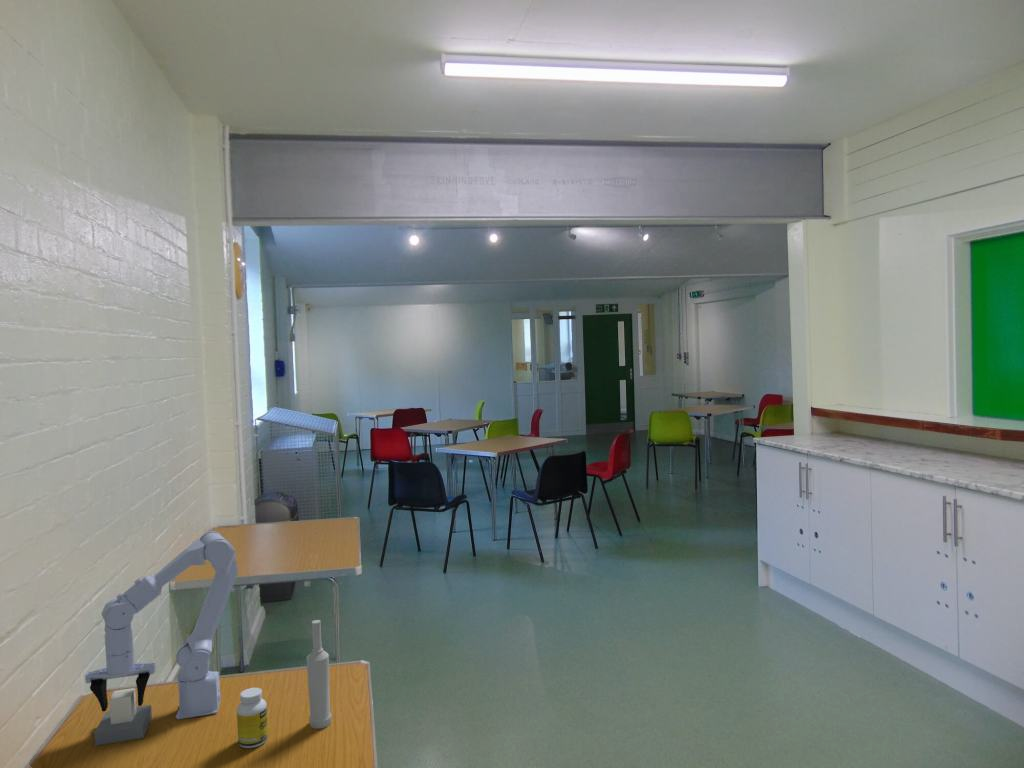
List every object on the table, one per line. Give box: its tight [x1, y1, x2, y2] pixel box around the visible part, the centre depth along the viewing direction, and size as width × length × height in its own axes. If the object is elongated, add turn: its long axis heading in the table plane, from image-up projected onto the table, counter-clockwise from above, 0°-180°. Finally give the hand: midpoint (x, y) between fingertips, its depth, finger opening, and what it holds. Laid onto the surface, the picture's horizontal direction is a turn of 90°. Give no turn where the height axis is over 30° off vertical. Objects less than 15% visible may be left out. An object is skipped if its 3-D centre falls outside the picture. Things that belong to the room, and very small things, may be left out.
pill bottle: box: [236, 687, 269, 749], centre depth 163 cm, size 6×6×12 cm
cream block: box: [108, 687, 137, 725], centre depth 170 cm, size 4×4×6 cm
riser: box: [93, 704, 153, 747], centre depth 170 cm, size 10×10×3 cm
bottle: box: [306, 619, 332, 730], centre depth 170 cm, size 5×5×25 cm
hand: (123, 706), depth 170 cm, fingers open, 7 cm apart
